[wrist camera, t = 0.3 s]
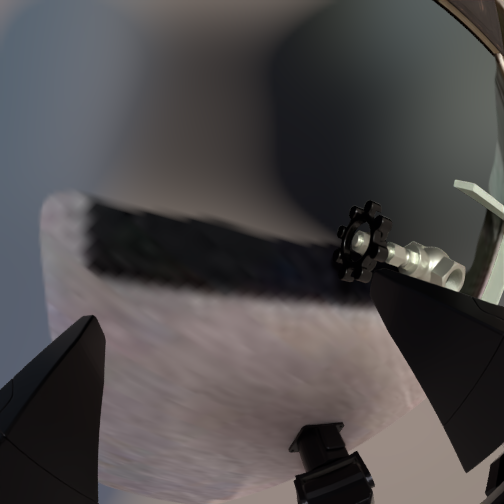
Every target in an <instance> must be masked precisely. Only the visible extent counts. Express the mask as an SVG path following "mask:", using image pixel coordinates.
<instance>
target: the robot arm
mask: <svg viewBox="0 0 504 504" xmlns="http://www.w3.org/2000/svg"><path fill="white" fill-rule="evenodd" d="M370 296H371V299H372V301H373V303H374V305H375V306H376V308H377V310H378V312H379V314H380V316H381V318H382V320H383V322H384V324H385V326H386V328H387V330H388V332H389V334H390V335H391V337H392V338H393V340H394V342H395V343H396V345H397V346H398V348H399V350H400V351H401V353H402V355H403V356H404V358H405V360H406V361H407V363H408V365H409V366H410V368H411V370H412V371H413V373H414V375H415V376H416V378H417V380H418V382H419V383H420V385H421V387H422V389H423V390H424V392H425V394H426V396H427V397H428V399H429V401H430V403H431V405H432V406H433V408H434V410H435V412H436V414H437V416H438V418H439V420H440V421H441V423H442V425H443V426H444V429H445V431H446V433H447V435H448V437H449V439H450V441H451V443H452V445H453V447H454V449H455V452H456V453H457V456H458V458H459V460H460V462H461V464H462V466H463V469H464V471H465V472H466V473H467V472H469V471H470V470H471V469H473V468H474V467H475V466H477V465H478V464H479V463H481V462H482V461H483V460H484V459H485V458H487V457H488V456H489V455H490V454H491V453H493V452H494V451H495V450H496V449H497V448H498V447H499V446H500V445H503V447H504V307H503V306H499V305H496V304H493V303H490V302H486V301H483V300H480V299H478V298H475V297H471V296H469V295H466V294H463V293H460V292H457V291H454V290H451V289H448V288H445V287H442V286H439V285H436V284H433V283H430V282H427V281H424V280H420V279H417V278H414V277H411V276H408V275H405V274H402V273H399V272H396V271H392V270H389V269H386V268H383V269H379V270H375V271H374V273H373V276H372V282H371V288H370ZM105 345H106V340H105V336H104V333H103V331H102V329H101V327H100V325H99V322H98V320H97V318H96V317H95V316H94V315H89V316H82V317H81V318H80V319H79V320H78V321H76V322H75V323H74V324H73V325H72V326H70V327H69V328H68V329H67V330H66V331H65V332H63V333H62V334H61V335H60V336H59V337H58V338H56V339H55V340H54V341H53V342H52V343H51V344H50V345H48V346H47V347H46V348H45V349H44V350H43V351H42V352H40V353H39V354H38V355H37V356H36V357H35V358H34V359H33V360H32V361H31V362H29V363H28V364H27V365H26V366H25V367H24V368H23V369H22V370H21V371H20V372H19V373H18V374H16V375H15V376H14V378H13V379H11V380H10V381H9V382H8V383H7V384H6V385H5V386H4V387H3V388H2V389H1V390H0V504H99V503H97V502H98V445H99V428H100V416H101V405H102V396H103V387H104V366H105ZM343 427H344V424H343V423H332V424H321V425H307V426H304V427H303V428H302V429H301V431H300V432H299V434H298V435H297V437H296V439H295V440H294V442H293V443H292V445H291V446H290V448H289V452H299V453H300V456H301V459H302V462H303V464H304V467H305V470H306V473H303V474H300V475H296V476H295V477H296V480H294V484H295V487H296V492H297V501H298V504H374V497H373V491H372V489H371V488H373V487H375V484H374V481H373V479H372V477H371V474H370V472H369V470H368V469H367V467H366V465H365V464H364V462H363V460H362V458H361V457H360V455H359V453H358V452H357V451H356V452H354V453H353V454H351V455H349V454H348V452H347V450H346V448H345V443H344V441H343V439H342V437H341V435H340V433H339V432H340V431H341V430H342V428H343ZM485 494H486V495H487V498H486V499H485V500H484V501H483V502H482V503H481V504H504V452H503V453H502V454H501V455H500V456H499V457H498V458H497V459H496V460H495V461H494V462H493V463H492V464H491V465H490V471H489V477H488V482H487V487H486V491H485Z"/></svg>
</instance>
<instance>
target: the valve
mask: <svg viewBox="0 0 504 504" xmlns="http://www.w3.org/2000/svg"><path fill="white" fill-rule="evenodd" d="M376 211H378V212H381V205H380V204H378V203H376V202H374V201H371V200H369V201H367V202H366V204H365V205H364V209H362V208H360V207H357V206H353V207H351V209H350V211H349V217H350V218H351V221H350V223H349V225H348V226H347V227H346V226H343V225H341V226H340V227H339V228H338V231H337V236H338V238H341V239H342V243H341V247H340V249H336V250H335V251H334V253H333V261H334V262H336V263H340V264H343V266H342V267H341V268H340V270H339V279H340V280H344V281H347V282H352V281H353V280H354V279H355V280H357V281H361V282H364V283H367V282H369V281H370V280H371V278H372V272H370V271H371V270H373V269H374V268H375V266H376V263H377V261H379V262H387V263H388V264H391V265H394V266H397V267H398V270H399V272H400V273H402V274H405V275H408V276H411V277H414V278H417V279H420V280H424V281H427V282H430V283H433V284H436V285H439V286H442V287H445V288H448V289H451V290H454V291H457V292H459V291H460V289H461V287H462V285H463V283H464V279H465V267H464V266H462V265H460V264H459V263H457V262H455V261H453V260H451V259H450V258H449V257H448V255H447V254H446V253H445V252H444V251H442V250H441V249H439V248H436V247H425V246H423V245H420V244H418V243H416V242H414V241H412V242H411V243H410V244H409V245H407V246H406V247H404V248H403V247H401V246H399V245H396V244H394V243H392V242H388V243H387V242H386V238H387V236H388V232H389V231H390V230H391V228H392V221H391V219H388V218H386V217H384V216H382V215H378V216H377V217H376V218H375V217H374V215H375V213H376ZM365 222H367V223H368V224H369V227H370V232H367V233H365V232H362V231H358V232H357V233H356V234H354V233H355V231H356V229H357V228H358V227H359V226H360V225H361V224H363V223H365ZM351 240H352V249H353V250H354V251H356V252H358V253H360V255H361V256H362V257H361V258H360V259H359V260H358V261H356V262H353V260H352V258H351V255H350V244H351ZM353 270H354V277H353V276H352V275H351V273H352V271H353Z"/></svg>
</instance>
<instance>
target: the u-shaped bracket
mask: <svg viewBox="0 0 504 504" xmlns="http://www.w3.org/2000/svg"><path fill="white" fill-rule="evenodd" d="M454 187H455V188H457V189H458V190H460V191H462V192H463V193H465V194H466V195H468V196H469V197H471V198H473V199H474V200H476V201H477V202H479V203H480V204H482V205H483V206H484V207H486V208H487V209H489V210H490V211H491V212H493V213H494V214H496V215H497V216H498V217H500V218H501V219H502V220H504V206H503V205H502V204H500V203H499V202H498V201H497V200H495V199H494V198H493V197H492V196H490V195H489V194H488V193H486V192H485V191H484V190H482V189H481V188H480V187H478V186H477V185H475V184H474V183H469V182H464V181H459V180H455V182H454ZM503 290H504V235H503V239H502V242H501V245H500V249H499V252H498V255H497V258H496V261H495V264H494V267H493V270H492V273H491V276H490V278H489V281H488V284H487V286H486V289H485V291H484V294H483V296H482V298H481V300H483V301H486V302H490V303H493V304H496V305H498V302H499V300H500V298H501V295H502V293H503Z"/></svg>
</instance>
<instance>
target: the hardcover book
mask: <svg viewBox="0 0 504 504" xmlns="http://www.w3.org/2000/svg"><path fill="white" fill-rule="evenodd" d="M432 1H434V2H435V3H436V4H438V5H439V6H440V7H442V8H443V9H444V10H445V11H446V12H448V13H449V14H450V15H451V16H452V17H454V18H455V19H456V20H457V21H458V22H459V23H460V24H461V25H462V26H464V27H465V28H466V29H467V30H468V31H469V32H470V33H471V34H472V35H473V36H474V37H475V38H476V39H477V40H478V41H479V42H480V43H481V44H482V45H483V46H484V47H485V48H486V49H487V50H488V51H489V52H490V53H491V54H492V55H493V57H495V56H494V54H496V53H501V54H502V55H503V56H504V51H503V43H502V36H501V29H500V24H499V19H498V14H497V9H496V5H495V1H494V0H432Z"/></svg>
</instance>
